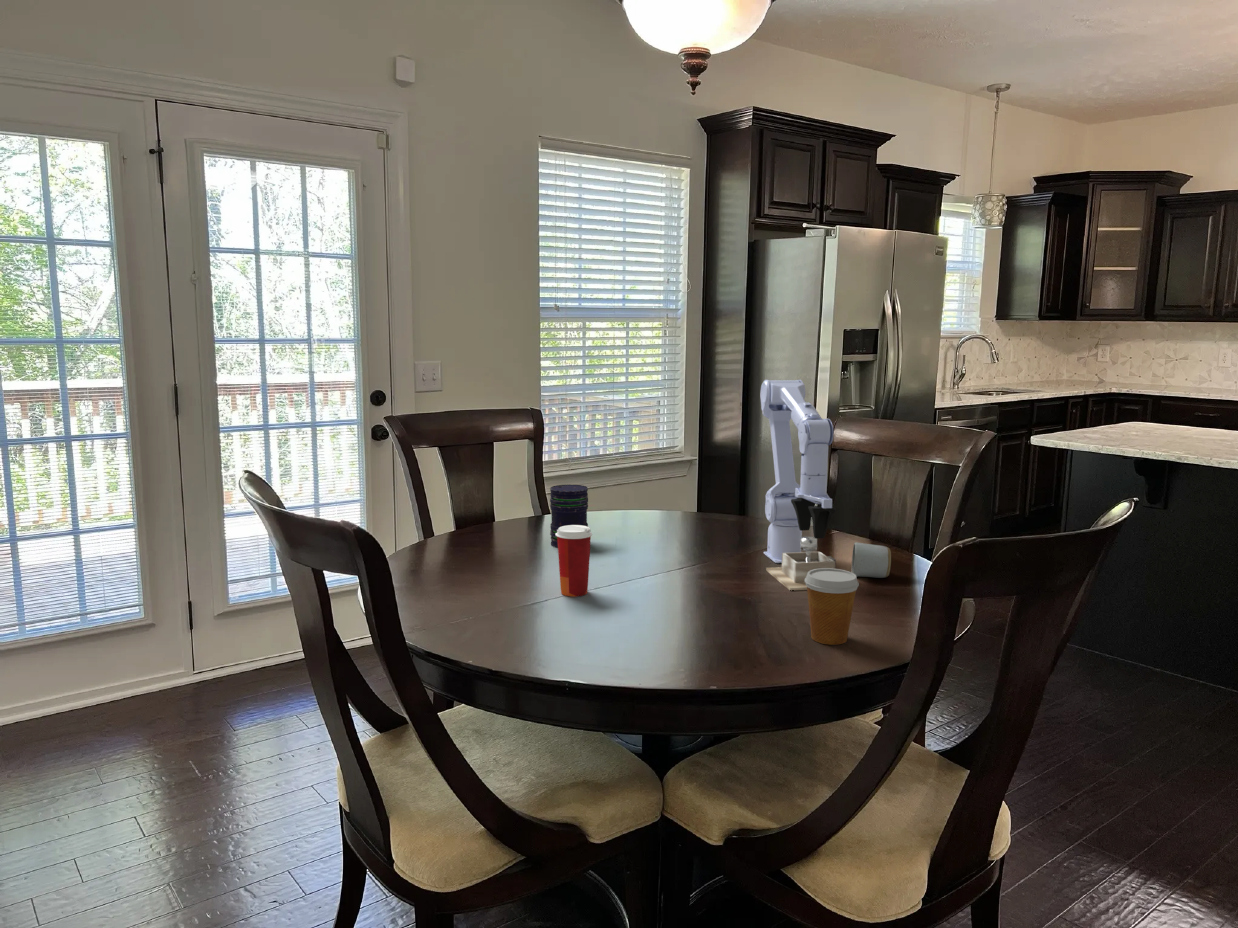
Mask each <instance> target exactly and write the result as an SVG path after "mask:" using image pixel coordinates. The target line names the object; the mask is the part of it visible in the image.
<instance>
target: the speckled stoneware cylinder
mask: <svg viewBox="0 0 1238 928" xmlns="http://www.w3.org/2000/svg"><path fill="white" fill-rule="evenodd" d="M851 554H852V555H851V572H852V573H854V574H855V575H856V577H860V578H861V577H862V578H875V579H877V578H879V579H884V578H887V577H888V576H890V571H891V566H892V565H891V564H892V552H891V549H890V548H889V547H887V546H885V545H879V544H871V543H865V542H864V543H862V542H857V541H855V542H854V543H853V546H852V553H851Z"/></svg>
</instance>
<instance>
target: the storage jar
mask: <svg viewBox="0 0 1238 928" xmlns="http://www.w3.org/2000/svg"><path fill="white" fill-rule="evenodd" d="M588 490H589V489H588V486H586V485H583V484H582V485H581V484H557V485H553V486H550V497H549V507H550V510H551V517H550V518H551V522H550V527H549V528H550V530H549V531H550V532H549V535H550V540H551V541H550V546H551V547H553V548H556V549H558V541H557V536H556V535H555V534H556V533H557V530H558V528H559V527H562V526H567V525H582V526H587V527H589V524H588V508H589V495H588V493H589V492H588Z"/></svg>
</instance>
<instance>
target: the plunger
mask: <svg viewBox="0 0 1238 928" xmlns="http://www.w3.org/2000/svg"><path fill="white" fill-rule="evenodd" d="M800 549H801V551H804V552H806V561H796V562H818V561H817V560H810V555H811V552H816V551H817V550H818V538H814V536H802V537H801V542H800Z"/></svg>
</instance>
